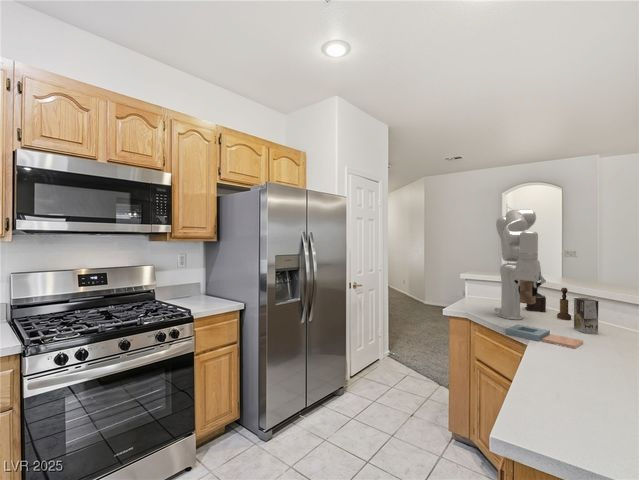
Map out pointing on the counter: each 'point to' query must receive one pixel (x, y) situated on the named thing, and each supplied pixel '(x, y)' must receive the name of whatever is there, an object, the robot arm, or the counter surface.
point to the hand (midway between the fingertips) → (527, 294)
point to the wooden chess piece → (564, 307)
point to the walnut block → (526, 292)
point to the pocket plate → (527, 332)
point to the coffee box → (586, 315)
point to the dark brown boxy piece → (538, 304)
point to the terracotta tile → (563, 341)
